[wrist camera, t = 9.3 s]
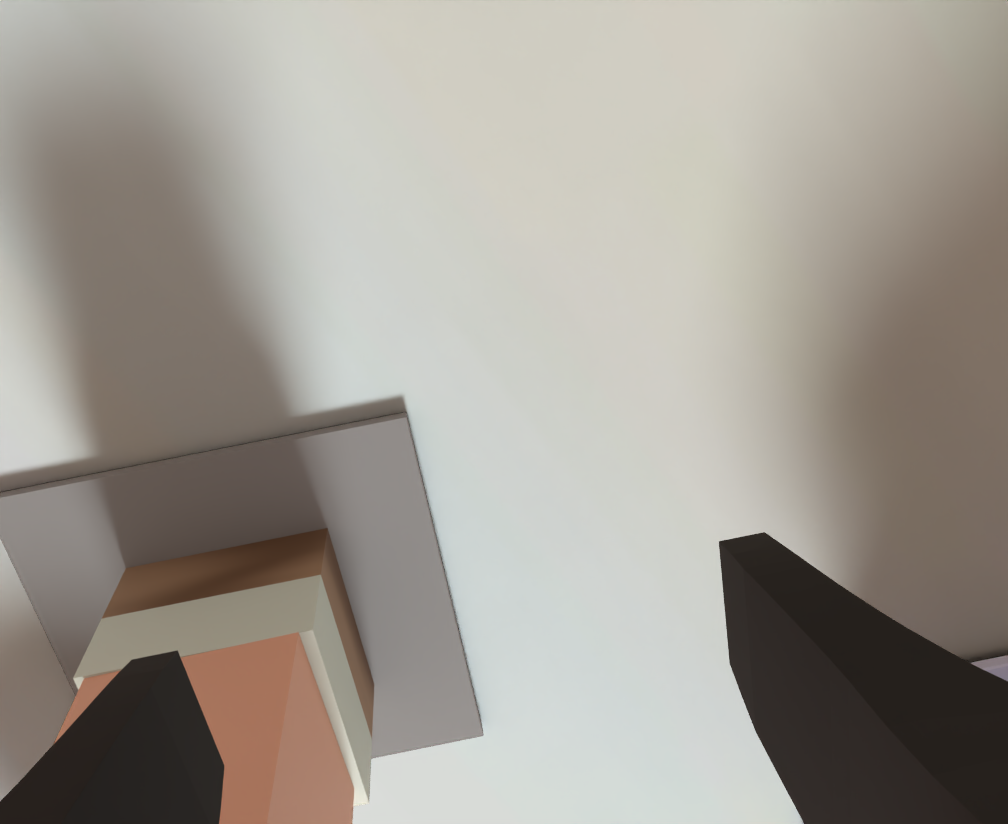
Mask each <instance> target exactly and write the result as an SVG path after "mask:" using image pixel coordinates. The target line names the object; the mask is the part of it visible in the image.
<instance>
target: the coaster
mask: <svg viewBox="0 0 1008 824" xmlns="http://www.w3.org/2000/svg"><path fill="white" fill-rule="evenodd" d="M325 528H328V531H329V535H330V538H331V541H332V545H333V548H334V551H335V555H336V558H337V561H338V565H339V568H340V571H341V575H342V578H343V581H344V585H345V588H346V592H347V595H348V598H349V602H350V605H351V608H352V612H353V615H354V618H355V622H356V625H357V628H358V632H359V635H360V638H361V642H362V645H363V648H364V652H365V655H366V658H367V662H368V665H369V668H370V672H371V675H372V678H373V682H374V705H373V727H372V750H371V759H372V758H376V757H381V756H386V755H391V754H396V753H401V752H406V751H411V750H416V749H421V748H426V747H431V746H435V745H440V744H445V743H450V742H455V741H460V740H465V739H470V738H475V737H480V736H483V729H482V725H481V720H480V716H479V712H478V708H477V704H476V700H475V696H474V691H473V687H472V683H471V679H470V675H469V671H468V667H467V662H466V658H465V654H464V650H463V646H462V642H461V638H460V633H459V629H458V625H457V621H456V617H455V613H454V609H453V604H452V600H451V596H450V592H449V588H448V584H447V580H446V576H445V571H444V567H443V563H442V559H441V555H440V551H439V547H438V542H437V538H436V534H435V530H434V526H433V522H432V518H431V513H430V509H429V505H428V501H427V497H426V493H425V489H424V484H423V480H422V476H421V472H420V468H419V464H418V460H417V455H416V451H415V447H414V443H413V439H412V435H411V431H410V426H409V422H408V418H407V414H406V412H404V413H399V414H394V415H389V416H384V417H378V418H373V419H368V420H363V421H358V422H353V423H348V424H343V425H338V426H333V427H328V428H323V429H318V430H313V431H308V432H303V433H298V434H293V435H288V436H283V437H278V438H273V439H268V440H262V441H257V442H252V443H247V444H242V445H237V446H232V447H227V448H222V449H217V450H212V451H207V452H202V453H197V454H192V455H187V456H182V457H177V458H172V459H167V460H162V461H157V462H152V463H146V464H141V465H136V466H131V467H126V468H121V469H116V470H111V471H106V472H101V473H96V474H91V475H86V476H81V477H76V478H71V479H66V480H61V481H56V482H51V483H46V484H41V485H35V486H30V487H25V488H20V489H15V490H10V491H5V492H0V539H1V541H2V543H3V545H4V547H5V549H6V551H7V553H8V555H9V557H10V560H11V562H12V564H13V566H14V568H15V570H16V572H17V574H18V576H19V578H20V580H21V583H22V585H23V587H24V589H25V591H26V593H27V595H28V597H29V599H30V601H31V603H32V606H33V608H34V610H35V612H36V614H37V616H38V618H39V620H40V622H41V624H42V626H43V629H44V631H45V633H46V635H47V637H48V639H49V641H50V643H51V645H52V647H53V650H54V652H55V654H56V656H57V658H58V660H59V662H60V664H61V666H62V668H63V670H64V673H65V675H66V677H67V679H68V681H69V683H70V685H71V687H72V689H73V691H74V693H75V696H76V695H77V692H78V688H77V686H76V684H75V681H74V679H73V677H74V675H75V673H76V671H77V669H78V667H79V665H80V663H81V661H82V659H83V656H84V654H85V652H86V650H87V648H88V646H89V644H90V642H91V640H92V638H93V636H94V633H95V631H96V629H97V627H98V625H99V623H100V621H101V619H102V617H103V615H104V613H105V611H106V608H107V606H108V604H109V602H110V600H111V598H112V596H113V594H114V592H115V590H116V588H117V586H118V583H119V581H120V579H121V577H122V575H123V573H124V571H125V569H126V568H130V567H135V566H140V565H145V564H150V563H155V562H160V561H165V560H170V559H175V558H180V557H185V556H190V555H195V554H200V553H205V552H210V551H215V550H220V549H225V548H230V547H235V546H240V545H245V544H250V543H255V542H260V541H265V540H270V539H275V538H280V537H285V536H290V535H295V534H300V533H305V532H310V531H315V530H320V529H325Z"/></svg>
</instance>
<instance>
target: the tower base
mask: <svg viewBox="0 0 1008 824" xmlns="http://www.w3.org/2000/svg"><path fill="white" fill-rule="evenodd" d="M317 575H321V577H322V580H323V583H324V587H325V590H326V593H327V596H328V599H329V603H330V606H331V609H332V612H333V616H334V619H335V622H336V625H337V628H338V632H339V635H340V638H341V641H342V645H343V648H344V651H345V654H346V657H347V661H348V664H349V667H350V670H351V674H352V677H353V680H354V683H355V686H356V690H357V693H358V696H359V699H360V703H361V706H362V709H363V712H364V715H365V719H366V722H367V725H368V728H369V732H370V735H371V738H372V727H373V705H374V682H373V678H372V675H371V672H370V668H369V665H368V662H367V658H366V655H365V652H364V648H363V645H362V642H361V638H360V635H359V632H358V628H357V625H356V622H355V618H354V615H353V612H352V608H351V605H350V602H349V598H348V595H347V592H346V588H345V585H344V581H343V578H342V575H341V571H340V568H339V565H338V561H337V558H336V555H335V551H334V548H333V545H332V541H331V538H330V535H329V531H328V528H325V529H320V530H315V531H310V532H305V533H300V534H295V535H290V536H285V537H280V538H275V539H270V540H265V541H260V542H255V543H250V544H245V545H240V546H235V547H230V548H225V549H220V550H215V551H210V552H205V553H200V554H195V555H190V556H185V557H180V558H175V559H170V560H165V561H160V562H155V563H150V564H145V565H140V566H135V567H130V568H126V569H125V571H124V573H123V575H122V577H121V579H120V581H119V583H118V586H117V588H116V590H115V592H114V594H113V596H112V598H111V600H110V602H109V604H108V606H107V608H106V611H105V613H104V615H103V617H102V618H107V617H112V616H117V615H122V614H127V613H132V612H137V611H142V610H147V609H152V608H157V607H162V606H167V605H172V604H177V603H182V602H187V601H192V600H197V599H202V598H207V597H212V596H217V595H222V594H227V593H232V592H237V591H242V590H247V589H252V588H257V587H262V586H267V585H272V584H277V583H282V582H287V581H292V580H297V579H302V578H307V577H312V576H317Z"/></svg>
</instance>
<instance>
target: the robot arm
mask: <svg viewBox="0 0 1008 824" xmlns="http://www.w3.org/2000/svg"><path fill="white" fill-rule="evenodd" d="M719 547H720V559H721V570H722V581H723V593H724V604H725V615H726V626H727V638H728V649H729V660H730V665H731V668H732V671H733V673H734V676H735V679H736V681H737V684H738V687H739V689H740V692H741V695H742V697H743V700H744V703H745V705H746V708H747V710H748V713H749V715H750V718H751V720H752V723H753V726H754V728H755V731H756V733H757V735H758V737H759V738H760V740H761V742H762V744H763V746H764V748H765V750H766V752H767V754H768V756H769V758H770V760H771V761H772V763H773V765H774V767H775V769H776V771H777V773H778V775H779V777H780V779H781V780H782V782H783V784H784V786H785V788H786V790H787V792H788V794H789V796H790V797H791V799H792V801H793V803H794V805H795V807H796V809H797V811H798V812H799V814H800V816H801V818H802V820H803V822H804V824H1008V655H1006V656H1001V657H996V658H991V659H986V660H981V661H976V662H972V663H969V662H967V661H965V660H963V659H961V658H959V657H958V656H956V655H954V654H952V653H950V652H948V651H946V650H945V649H943V648H941V647H939V646H938V645H936V644H934V643H932V642H931V641H929V640H927V639H925V638H924V637H922V636H920V635H918V634H916V633H915V632H913V631H911V630H909V629H908V628H906V627H904V626H903V625H901V624H899V623H898V622H896V621H895V620H893V619H891V618H890V617H888V616H886V615H885V614H883V613H882V612H880V611H878V610H877V609H875V608H874V607H872V606H871V605H869V604H868V603H866V602H865V601H863V600H861V599H860V598H858V597H857V596H855V595H854V594H852V593H851V592H849V591H848V590H846V589H845V588H843V587H842V586H840V585H839V584H837V583H836V582H835V581H833V580H832V579H830V578H829V577H827V576H826V575H825V574H823V573H822V572H820V571H819V570H817V569H816V568H815V567H813V566H812V565H810V564H809V563H807V562H806V561H805V560H803V559H802V558H800V557H799V556H798V555H796V554H795V553H793V552H792V551H791V550H789V549H788V548H786V547H785V546H783V545H782V544H781V543H779V542H778V541H776V540H775V539H773V538H772V537H771V536H769V535H768V534H766V533H765V532H764V533H759V534H754V535H749V536H744V537H739V538H734V539H729V540H724V541H719ZM223 778H224V763H223V761H222V758H221V756H220V753H219V751H218V749H217V746H216V744H215V741H214V739H213V736H212V734H211V731H210V729H209V726H208V724H207V722H206V719H205V717H204V714H203V712H202V709H201V707H200V704H199V702H198V699H197V697H196V694H195V692H194V690H193V687H192V685H191V682H190V680H189V677H188V675H187V672H186V670H185V667H184V665H183V662H182V660H181V658H180V655H179V653H178V650H177V651H172V652H167V653H162V654H157V655H152V656H147V657H142V658H137V659H132V660H131V661H130V662H129V663H128V664H127V665H126V666H125V667H124V668H123V669H122V670H121V671H120V672H119V673H118V674H117V675H116V676H115V677H114V678H113V679H112V680H111V681H110V682H109V684H108V685H107V686H106V687H105V688H104V689H103V690H102V691H101V692H100V693H99V695H98V696H97V697H96V698H95V699H94V700H93V701H92V702H91V703H90V705H89V706H88V707H87V708H86V709H85V710H84V711H83V712H82V714H81V715H80V716H79V717H78V718H77V719H76V720H75V721H74V723H73V724H72V725H71V726H70V727H69V728H68V729H67V730H66V731H65V733H64V734H63V735H62V736H61V737H60V738H59V739H58V740H57V741H56V742H55V744H54V745H53V746H52V747H51V748H50V749H49V750H48V751H47V752H46V753H45V755H44V756H43V757H42V758H41V759H40V760H39V761H38V762H37V763H36V764H35V766H34V767H33V768H32V769H31V770H30V771H29V772H28V773H27V774H26V775H25V777H24V778H23V779H22V780H21V781H20V782H19V783H18V784H17V785H16V786H15V787H14V788H13V789H12V790H11V791H10V792H9V793H8V794H7V795H6V796H5V797H4V798H3V799H2V800H1V801H0V824H219V820H220V811H221V801H222V790H223Z"/></svg>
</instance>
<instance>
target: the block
mask: <svg viewBox="0 0 1008 824" xmlns="http://www.w3.org/2000/svg"><path fill="white" fill-rule="evenodd" d="M181 660H182V662H183V665H184V667H185V670H186V672H187V675H188V677H189V680H190V682H191V685H192V687H193V690H194V692H195V694H196V697H197V699H198V702H199V704H200V707H201V709H202V712H203V714H204V717H205V719H206V722H207V724H208V726H209V729H210V731H211V734H212V736H213V739H214V741H215V744H216V746H217V749H218V751H219V753H220V756H221V758H222V761H223V763H224V778H223V790H222V801H221V811H220V820H219V824H352V818H353V802H354V786H353V784H352V781H351V778H350V775H349V772H348V770H347V767H346V764H345V761H344V758H343V755H342V753H341V750H340V747H339V744H338V741H337V739H336V736H335V733H334V730H333V727H332V725H331V722H330V719H329V716H328V713H327V711H326V708H325V705H324V702H323V699H322V697H321V694H320V691H319V688H318V685H317V683H316V680H315V677H314V674H313V671H312V669H311V666H310V663H309V660H308V657H307V655H306V652H305V649H304V646H303V643H302V640H301V638H300V635H299V632H297V633H292V634H288V635H283V636H278V637H274V638H269V639H264V640H260V641H255V642H251V643H246V644H241V645H237V646H232V647H227V648H223V649H218V650H214V651H209V652H204V653H200V654H195V655H190V656H186V657H181ZM119 672H120V671H116V672H112V673H107V674H103V675H98V676H93V677H89V678H84V680H83V682H82V684H81V686H80V688H79V690H78V692H77V695H76V697H75V699H74V701H73V703H72V705H71V708H70V710H69V712H68V714H67V716H66V718H65V721H64V723H63V725H62V727H61V729H60V731H59V733H58V736H57V738H56V740H55V742H56V741H57V740H58V739H59V738H60V737H61V736H62V735H63V734H64V733H65V731H66V730H67V729H68V728H69V727H70V726H71V725H72V724H73V723H74V721H75V720H76V719H77V718H78V717H79V716H80V715H81V714H82V712H83V711H84V710H85V709H86V708H87V707H88V706H89V705H90V703H91V702H92V701H93V700H94V699H95V698H96V697H97V696H98V695H99V693H100V692H101V691H102V690H103V689H104V688H105V687H106V686H107V685H108V684H109V682H110V681H111V680H112V679H113V678H114V677H115V676H116V675H117V674H118V673H119ZM55 742H54V744H55ZM54 744H53V745H54Z"/></svg>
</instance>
